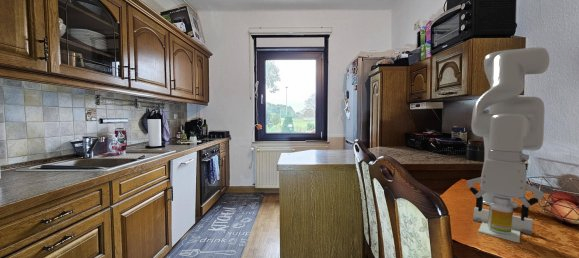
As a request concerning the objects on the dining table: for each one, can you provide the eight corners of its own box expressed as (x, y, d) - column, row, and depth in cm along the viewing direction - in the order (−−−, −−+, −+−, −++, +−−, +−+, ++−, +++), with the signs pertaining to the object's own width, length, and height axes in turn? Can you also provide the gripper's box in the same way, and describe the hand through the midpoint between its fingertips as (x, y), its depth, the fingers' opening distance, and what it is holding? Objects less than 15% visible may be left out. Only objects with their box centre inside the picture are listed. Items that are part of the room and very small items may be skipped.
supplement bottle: (515, 235, 72) (518, 201, 72) (494, 233, 73) (497, 199, 73) (503, 227, 78) (505, 196, 77) (483, 225, 79) (486, 194, 78)
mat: (482, 223, 82) (482, 222, 82) (520, 232, 76) (520, 231, 76) (478, 232, 75) (478, 230, 75) (519, 242, 69) (519, 241, 69)
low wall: (474, 218, 86) (475, 206, 86) (531, 231, 76) (532, 218, 76) (472, 220, 84) (473, 208, 84) (531, 234, 74) (532, 221, 74)
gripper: (545, 159, 71) (541, 219, 72) (470, 152, 83) (467, 204, 84) (547, 162, 66) (542, 227, 66) (466, 154, 77) (462, 209, 78)
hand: (500, 214), depth 75 cm, fingers open, 9 cm apart
